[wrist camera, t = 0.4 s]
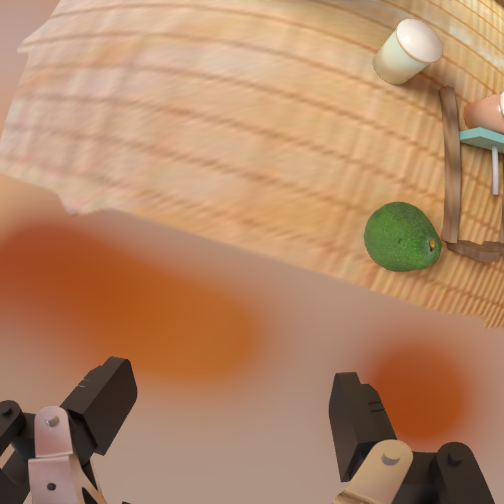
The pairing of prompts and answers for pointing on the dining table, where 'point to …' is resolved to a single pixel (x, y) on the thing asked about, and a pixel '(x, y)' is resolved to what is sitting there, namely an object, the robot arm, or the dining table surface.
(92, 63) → the dining table surface
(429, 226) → the fruit
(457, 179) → the lane
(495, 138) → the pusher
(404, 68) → the sage jar
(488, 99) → the jar
